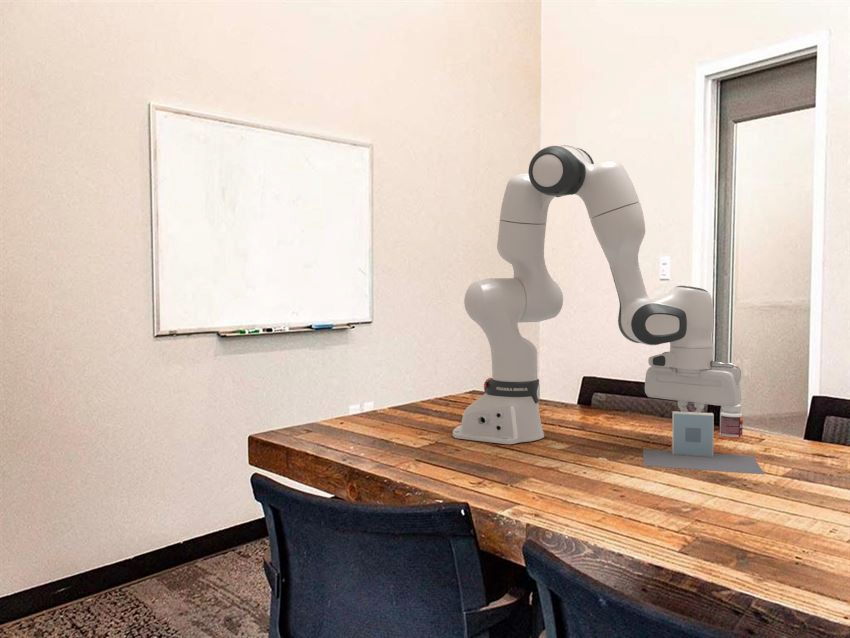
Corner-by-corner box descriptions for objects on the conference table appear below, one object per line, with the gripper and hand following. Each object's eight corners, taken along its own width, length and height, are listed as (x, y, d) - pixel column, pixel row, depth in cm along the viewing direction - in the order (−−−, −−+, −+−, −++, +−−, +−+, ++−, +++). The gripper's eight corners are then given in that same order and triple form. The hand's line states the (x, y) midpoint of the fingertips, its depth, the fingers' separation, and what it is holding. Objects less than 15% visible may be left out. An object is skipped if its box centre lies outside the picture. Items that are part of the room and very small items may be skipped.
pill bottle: (744, 442, 151) (745, 406, 150) (723, 441, 152) (723, 406, 151) (739, 437, 155) (739, 403, 155) (718, 436, 156) (718, 402, 156)
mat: (643, 468, 130) (643, 465, 130) (643, 451, 144) (643, 448, 144) (764, 477, 124) (764, 474, 124) (752, 458, 137) (752, 455, 137)
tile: (672, 454, 138) (673, 413, 138) (672, 452, 140) (672, 411, 140) (713, 457, 136) (713, 414, 135) (712, 454, 138) (712, 413, 137)
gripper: (746, 361, 137) (745, 426, 138) (654, 355, 151) (654, 413, 152) (735, 364, 132) (734, 431, 133) (641, 357, 147) (641, 417, 148)
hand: (690, 421), depth 143 cm, fingers closed
